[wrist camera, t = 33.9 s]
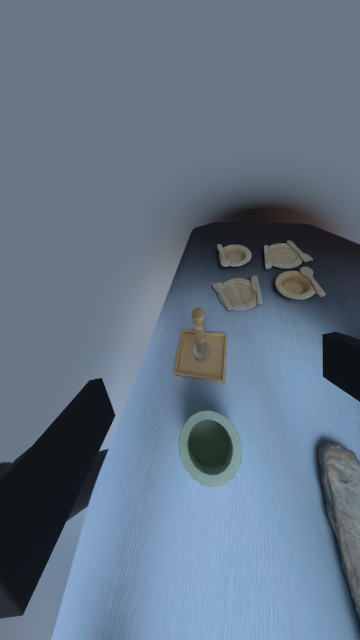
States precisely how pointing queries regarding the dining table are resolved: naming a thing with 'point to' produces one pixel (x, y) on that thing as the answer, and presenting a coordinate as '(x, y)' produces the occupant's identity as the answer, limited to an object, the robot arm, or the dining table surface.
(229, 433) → the green cylindrical container
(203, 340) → the wooden pestle
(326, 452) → the elongated rock
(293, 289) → the tableware set
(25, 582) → the robot arm
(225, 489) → the dining table surface
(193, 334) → the tray
